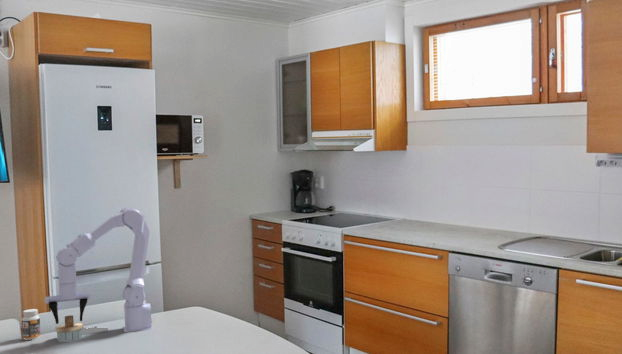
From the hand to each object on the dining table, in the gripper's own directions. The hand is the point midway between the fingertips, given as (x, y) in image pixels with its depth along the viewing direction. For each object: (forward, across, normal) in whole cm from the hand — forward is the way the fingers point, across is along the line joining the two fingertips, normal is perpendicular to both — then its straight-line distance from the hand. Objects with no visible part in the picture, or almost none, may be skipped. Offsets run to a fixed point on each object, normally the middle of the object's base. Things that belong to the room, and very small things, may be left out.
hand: (69, 321), depth 209 cm
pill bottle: (+6, +13, -8) cm, 17 cm away
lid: (+2, 0, 0) cm, 2 cm away
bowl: (+6, 0, 0) cm, 6 cm away
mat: (+6, -8, -8) cm, 13 cm away
